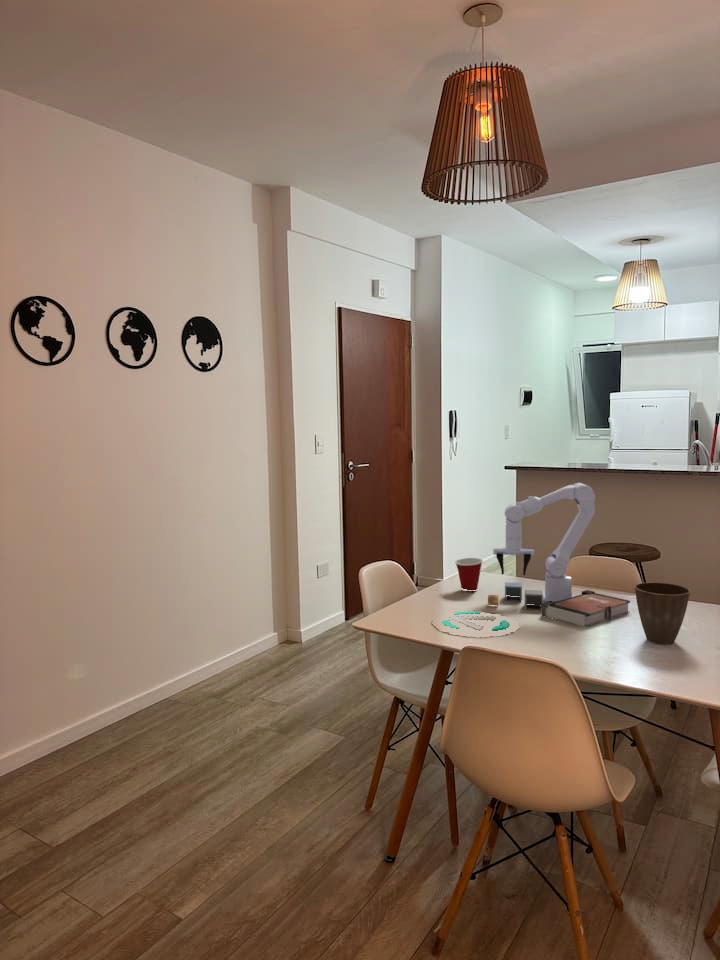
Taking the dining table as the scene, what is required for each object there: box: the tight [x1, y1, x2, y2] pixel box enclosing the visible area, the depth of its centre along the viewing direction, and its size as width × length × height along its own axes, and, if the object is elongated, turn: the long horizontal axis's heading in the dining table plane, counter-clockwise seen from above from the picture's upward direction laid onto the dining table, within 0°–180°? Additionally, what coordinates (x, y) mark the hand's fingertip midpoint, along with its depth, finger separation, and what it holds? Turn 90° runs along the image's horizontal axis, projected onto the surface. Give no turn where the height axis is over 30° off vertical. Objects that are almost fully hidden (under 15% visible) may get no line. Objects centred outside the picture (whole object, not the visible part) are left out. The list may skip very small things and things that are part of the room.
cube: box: [487, 594, 499, 607], centre depth 242 cm, size 4×4×4 cm
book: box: [541, 589, 631, 628], centre depth 229 cm, size 26×18×5 cm
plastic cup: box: [454, 557, 484, 590], centre depth 263 cm, size 11×11×12 cm
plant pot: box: [634, 582, 691, 646], centre depth 201 cm, size 15×15×16 cm
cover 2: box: [524, 589, 544, 610], centre depth 239 cm, size 6×6×6 cm
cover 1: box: [504, 581, 523, 601], centre depth 250 cm, size 6×6×6 cm
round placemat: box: [442, 610, 510, 631], centre depth 221 cm, size 28×28×2 cm
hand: (513, 574), depth 249 cm, fingers open, 7 cm apart
